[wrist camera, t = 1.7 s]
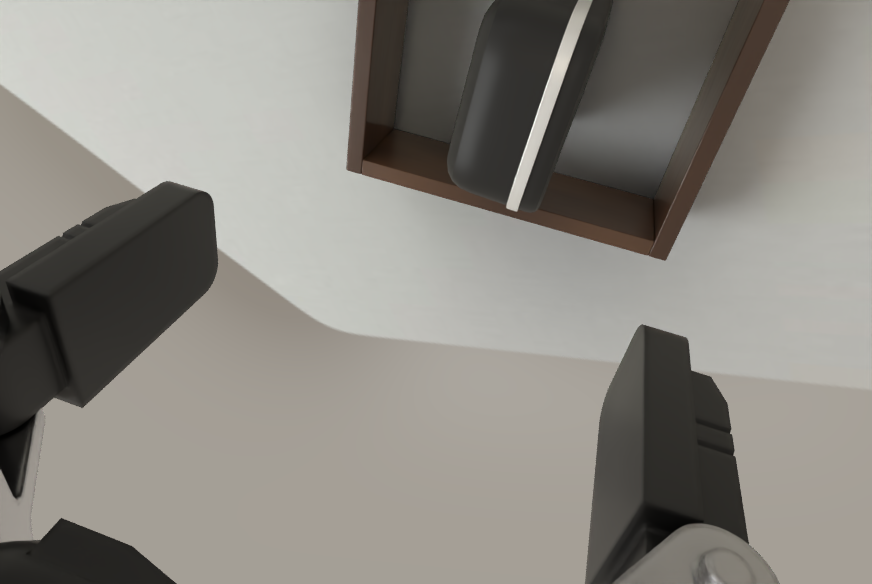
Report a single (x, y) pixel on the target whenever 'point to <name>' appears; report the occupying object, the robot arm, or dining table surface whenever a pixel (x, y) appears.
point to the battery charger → (523, 96)
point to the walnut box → (565, 196)
